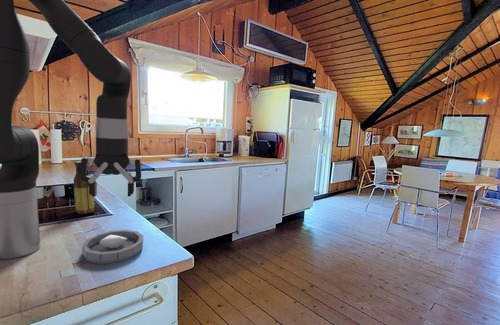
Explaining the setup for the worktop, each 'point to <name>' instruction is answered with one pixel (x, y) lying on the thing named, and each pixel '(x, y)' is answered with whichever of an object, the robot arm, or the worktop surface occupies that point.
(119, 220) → the worktop surface
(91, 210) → the sauce bottle
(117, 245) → the dumpling
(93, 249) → the round dish
